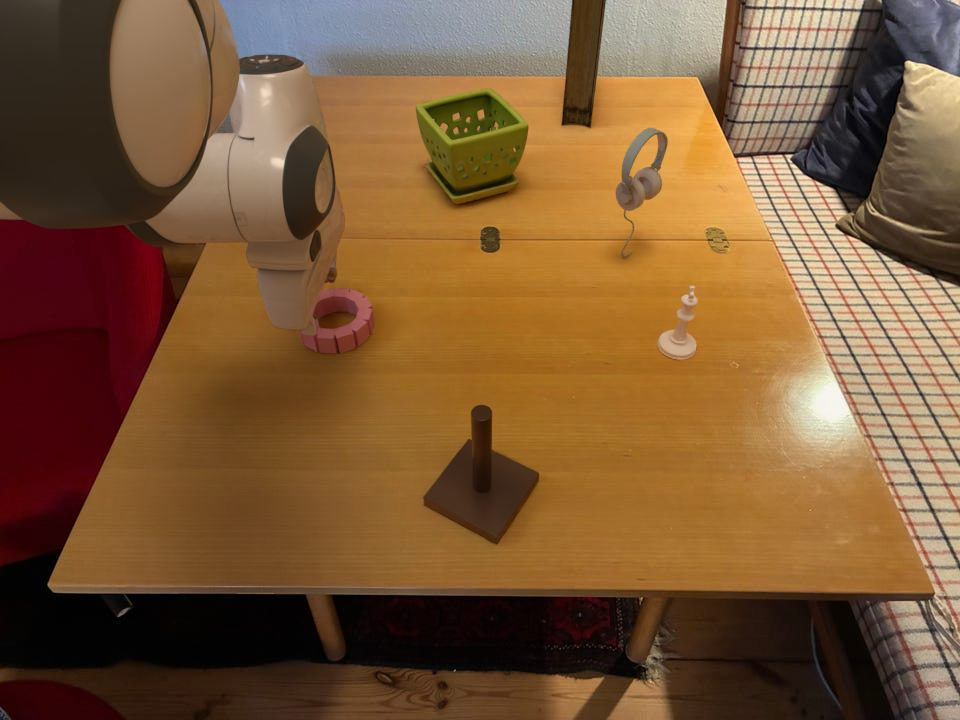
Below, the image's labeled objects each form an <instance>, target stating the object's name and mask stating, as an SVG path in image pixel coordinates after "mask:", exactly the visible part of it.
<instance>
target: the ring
mask: <svg viewBox="0 0 960 720" xmlns="http://www.w3.org/2000/svg"><path fill="white" fill-rule="evenodd" d="M336 312H338V313H339V312H341V313H348V314H351V315H353V316H355V318H354V319H353V320H352V321H350V322H349V323H348V324H346V325H343V326H340V327H336V328H323V327H321V326H319V327H318V331H317V333H316V335H314V336H311V335H304V334H302V333H301V330H297V332H298V335H299V337H300V340H301V342H302V344H304V346H305V347H306V348H309V349H310V350H312V351H314V352H316V353H318V352H319V353H320V354H330V355H331V354H332V355H336V354H338V353H339V354H344V353H346V352H350V351H353V350H356V349H357V347H361V346H362V345H363V344H365V342H367V340H369V339H370V338H371V336H372V335H373V331H374V328H375V323H376V322H375V317H374V310H373V306H372V304H371V302H370V300H369V298H368V296H366V295H365V294H364V293H362V292H361V291H358V290H356V289H351V288H349V287H333V289H332V287H330V288H325V289H322V291H321V294H320V296H319V299H318V302H317V305H316V307H315V310H314V313H313V315H312V316H317V318H318V321H319V320H320V319H321V318H322V317H324V316H326V315H329V314H333V313H336Z"/></svg>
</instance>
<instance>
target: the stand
mask: <svg viewBox="0 0 960 720" xmlns="http://www.w3.org/2000/svg"><path fill="white" fill-rule="evenodd" d="M470 424H471V425H470V427H471V428H470V429H471V430H470V433H471V438H467V440H466V441H465V442H464V444H463V445H462V446H461V447H460V449H459V450H458V451H457V452H456V454H455V455H454V457H453V458H452V459H451V461H450V462H449V463H448V464H447V466H446V467H445V469H444V470H443V471H442V472H441V474H440V475H439V476H438V478H437V479H436V480H435V481H434V483H433V484H432V485H431V486H430V487H429V489H428V490H427V492H426V493H425V494H424V496H423V497H422V499H423V505H424V506H426V507H427V508H429V509H432V510H433V511H435V512H437V513H439V514H440V515H442V516H444V517H446V518H448V519H450V520H452V521H453V522H455V523H457V524H458V525H461V526H463V527H464V528H466V529H468V530H469V531H471V532H473V533H475V534H476V535H479V536H481V537H482V538H484V539H486V540H488V541H489V542H491V543H494V544H495V545H498V543H499V542H500V541H501V540H502V538H503V536H504V534H505V533H506V531H507V530H508V528H509V527H510V525H511V524H512V523H513V521H514V519H515V517H516V516H517V515H518V513H519V512H520V510H521V508H522V507H523V506H524V504H525V502H526V501H527V499H529V496H530V495H531V493H532V492H533V490H534V488H535V487H536V486H537V485H538V483H539V481H540V472H539V471H536V470H535V469H532V468H530V467H528V466H526V465H524V464H522V463H520V462H518V461H516V460H514V459H511V458H510V457H508V456H506V455H503V454H501V453H499V452H498V451H495V450H493V409H492V408H491V407H490V406H488V405H486V404H477V405H475V406H473V407H472V408H471V410H470Z"/></svg>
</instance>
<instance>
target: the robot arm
mask: <svg viewBox="0 0 960 720" xmlns="http://www.w3.org/2000/svg"><path fill="white" fill-rule="evenodd" d="M228 115H229V120H230V125H231V129H232V132H217V131H218V130H219V129H220V128H221V126H222V125H223V123H224V122H225V120H226V118H227V117H228ZM334 165H335V164H334V161H333V154H332V149H331V145H330V144H329V138H328V132H327V125H326V121H325V117H324V113H323V109H322V105H321V102H320V98H319V95H318V92H317V88H316V86H315V82H314V80H313V77H312V74H311V72H310V70H309V67H308V65H307V64H306V63H305V62H304V61H303V60H301V59H299V58H297V57H295V56H291V55H287V54H272V53H271V54H254V55H251V56H242V57H240V56H239V49H238V44H237V42H236V38H235V33H234V31H233V29H232V25H231V22H230V20H229V18H228V15H227V13H226V11H225V9H224V7H223V4H222V3H221V1H220V0H0V220H11V221H15V220H16V221H17V220H18V221H19V220H21V221H22V220H23V221H26V222H27V223H30V224H33V225H35V226H37V227H42V228H46V229H52V230H71V229H72V230H75V229H76V230H78V229H80V230H81V229H96V228H98V229H99V228H109V227H116V226H125V228H126V229H127V230H129V232H130V233H132V235H134V237H136V238H138V239H139V240H140V241H142V242H143V243H144V244H146V245H148V246H150V247H154V248H155V247H156V248H160V247H172V246H173V247H174V246H185V245H189V244H239V243H240V244H241V243H244V244H247V246H246V250H245V256H246V261H247V263H248V266H249V267H251V268H254V269H257V271H256V280H257V286H258V290H259V293H260V297H261V300H262V302H263V305H264V308H265V311H266V314H267V316H268V319H269V321H270V323H271V324H272V326H273V327H274V328H277V329H278V330H283V331H285V330H286V331H298V330H301V333H302V334H304V335H311V336H314V335H316V333H317V331H318V327H320V323H319V320H318V318H317V316H312V315H313V313H314V310H315V307H316V305H317V302H318V299H319V296H320V294H321V291H322V290H323V288H324V286H325V283H326V284H327V283H329V284H334V283H335V282H336V280H337V276H338V268H337V253H338V248H339V245H340V243H341V239H342V237H343V234H344V232H345V228H346V214H345V208H344V206H343V202H342V198H341V193H340V190H339V187H338V185H337V180H336V172H335V166H334Z"/></svg>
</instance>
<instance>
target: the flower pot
mask: <svg viewBox="0 0 960 720" xmlns="http://www.w3.org/2000/svg"><path fill="white" fill-rule="evenodd" d="M480 111H483V116H484V117H482V118H480V119H479V115H478V113H479V112H480ZM415 113H416V114H415V115H416V119H417V125H418V130H419V133H420V136H421V138H422V139H421V140H422V142H423V144H424V146H425V149H426V151H427V153H428V155H429V157H430V159H431V160H432V161H428V162H426V163H425V166H426V169H427V170H428V171H429V173H430V174H431V175H432V177H433V178H434V179H435V181H436V182H437V183H438V185H439V186H440V188H442V190H443V191H444V192H445V194H446V195H447V196H448V198H449V199H450V200H451V201H452V203H454V204H456V205H462V204H465V203H468V202H473V201H476V200H479V199H485V198H488V197H491V196H495V195H499V194H507V193H508V192H509V191H511V190H513V189H515V188H516V187H517V186H518V184H519V179H518V178H517V177H516V176H515V175H514V172H515V171H516V169H517V168H518V166H519V164H520V163H521V160H522V158H523V155H524V152H525V149H526V146H527V141H528V135H529V123H528V122H527V120H526V119H525V118H524V117H523V116H522V115H521V113H520V112H518V110H516V108H514V106H513V105H511V104H510V103H509V102H508V101H507V100H506V99H505V98H504V97H503V96H502V95H500V94H499V93H498V92H496V91H495V90H494V89H492V88H490V87H489V88H481V89H477V90H471V91H467V92H461V93H456V94H452V95H449V96H444V97H439V98H435V99H433V100H429V101H425V102H423V103H418V104H417V105H415ZM457 114H458V115H459V118H457V119H454V118H453V116H454V115H457ZM468 118H469V120H468V121H467V119H468ZM443 124H445V125H446V126H447V128H446V131H444V130H443V129H442V128H441V126H442V125H443ZM496 124H497V127H496ZM456 128H457V130H458V131H457V132H455V131H454V130H455V129H456ZM465 129H467V130H466V131H465ZM514 149H515V151H514Z"/></svg>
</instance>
